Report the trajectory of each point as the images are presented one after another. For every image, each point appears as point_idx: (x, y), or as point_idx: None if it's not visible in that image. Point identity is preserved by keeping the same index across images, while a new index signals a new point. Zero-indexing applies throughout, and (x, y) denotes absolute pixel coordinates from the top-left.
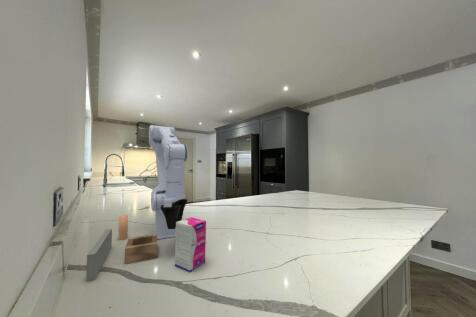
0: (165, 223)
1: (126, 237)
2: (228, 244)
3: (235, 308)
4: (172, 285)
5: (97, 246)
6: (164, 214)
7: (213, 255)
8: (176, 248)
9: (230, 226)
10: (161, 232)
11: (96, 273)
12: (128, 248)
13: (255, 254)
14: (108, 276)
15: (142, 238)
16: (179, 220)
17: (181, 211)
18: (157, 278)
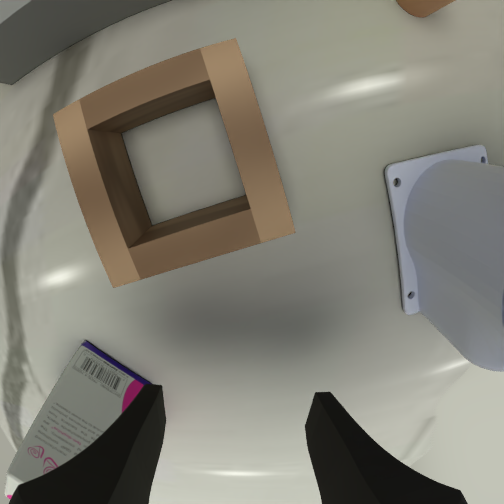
0: (451, 257)
1: (414, 10)
2: (257, 471)
3: (5, 428)
4: (9, 341)
5: (5, 10)
6: (69, 462)
7: (172, 440)
8: (52, 389)
9: (420, 452)
10: (419, 213)
11: (14, 74)
12: (57, 132)
13: (183, 501)
14: (23, 114)
15: (229, 139)
16: (310, 430)
17: (326, 495)
18: (20, 296)
